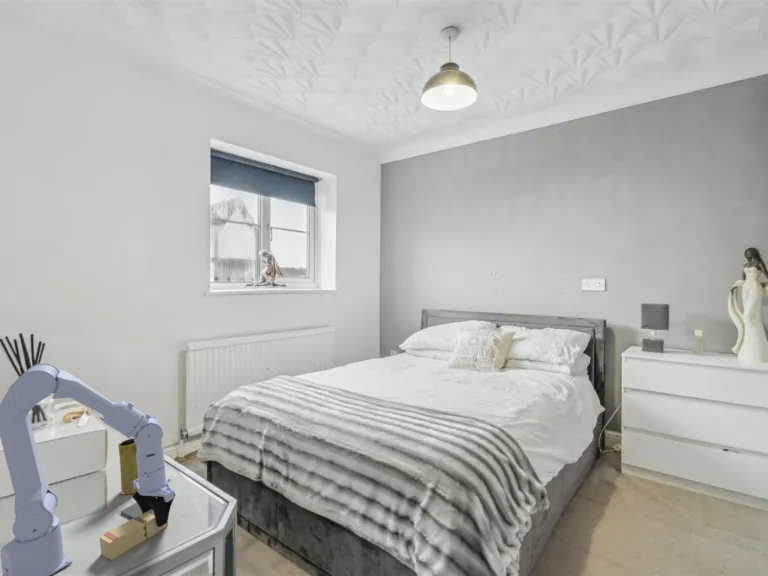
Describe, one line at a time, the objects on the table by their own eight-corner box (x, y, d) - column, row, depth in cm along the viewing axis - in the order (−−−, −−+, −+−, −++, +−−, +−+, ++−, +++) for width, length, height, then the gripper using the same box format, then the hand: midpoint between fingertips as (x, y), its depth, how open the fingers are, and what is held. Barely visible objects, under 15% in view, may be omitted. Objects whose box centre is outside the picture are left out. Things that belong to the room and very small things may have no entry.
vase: (133, 495, 111) (128, 447, 110) (115, 494, 112) (110, 446, 112) (150, 483, 117) (146, 437, 116) (133, 482, 118) (128, 437, 118)
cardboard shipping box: (111, 560, 86) (109, 542, 85) (101, 554, 88) (99, 536, 88) (146, 539, 92) (144, 522, 92) (136, 533, 94) (134, 517, 94)
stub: (147, 538, 92) (146, 522, 92) (137, 533, 94) (135, 517, 94) (168, 526, 97) (166, 510, 96) (158, 521, 99) (156, 505, 99)
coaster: (135, 520, 100) (135, 518, 99) (120, 513, 103) (120, 511, 103) (162, 505, 106) (162, 503, 106) (147, 498, 109) (147, 496, 109)
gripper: (184, 466, 95) (189, 519, 96) (151, 455, 103) (156, 504, 103) (155, 480, 89) (160, 537, 90) (122, 467, 97) (127, 520, 97)
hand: (156, 521), depth 96 cm, fingers open, 5 cm apart
